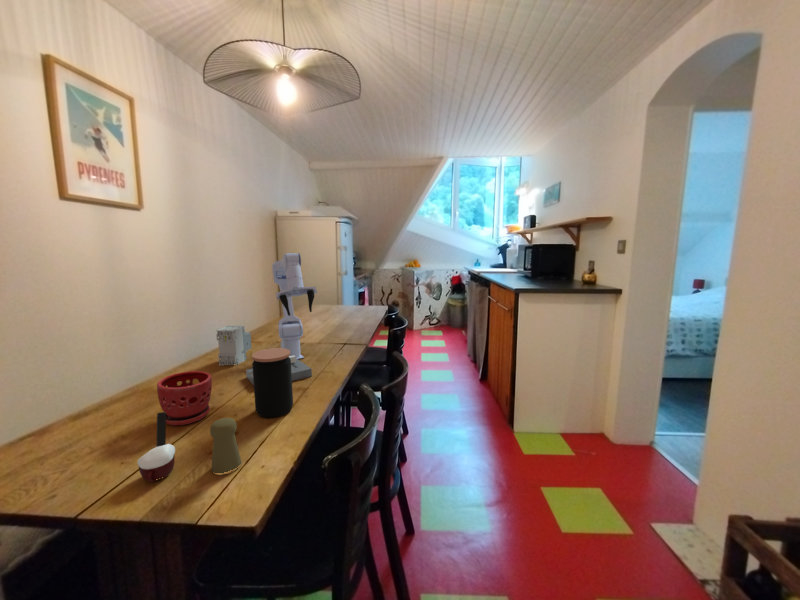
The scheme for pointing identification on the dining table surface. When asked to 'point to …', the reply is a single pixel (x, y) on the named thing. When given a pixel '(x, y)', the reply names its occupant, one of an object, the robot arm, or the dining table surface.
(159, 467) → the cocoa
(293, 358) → the paddle
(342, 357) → the dining table surface
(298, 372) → the grey slider panel
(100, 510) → the dining table surface
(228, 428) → the cork
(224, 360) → the circuit breaker
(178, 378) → the plant pot
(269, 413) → the coffee jar
